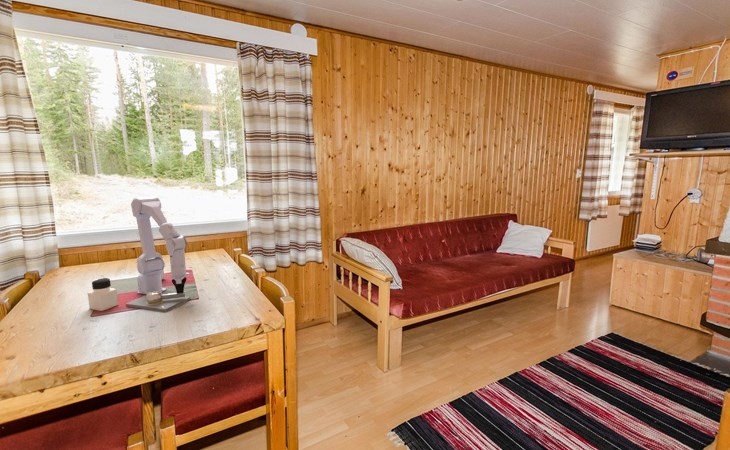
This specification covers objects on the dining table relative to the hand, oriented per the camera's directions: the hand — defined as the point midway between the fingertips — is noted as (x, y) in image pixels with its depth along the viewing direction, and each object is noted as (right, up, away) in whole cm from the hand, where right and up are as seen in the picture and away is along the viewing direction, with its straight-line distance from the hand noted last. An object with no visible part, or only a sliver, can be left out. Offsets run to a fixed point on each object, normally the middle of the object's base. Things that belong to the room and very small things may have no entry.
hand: (180, 294), depth 155 cm
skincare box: (-26, +2, +27) cm, 37 cm away
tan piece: (-4, -2, -3) cm, 6 cm away
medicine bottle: (-28, -4, -7) cm, 29 cm away
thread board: (-8, -3, -2) cm, 9 cm away
